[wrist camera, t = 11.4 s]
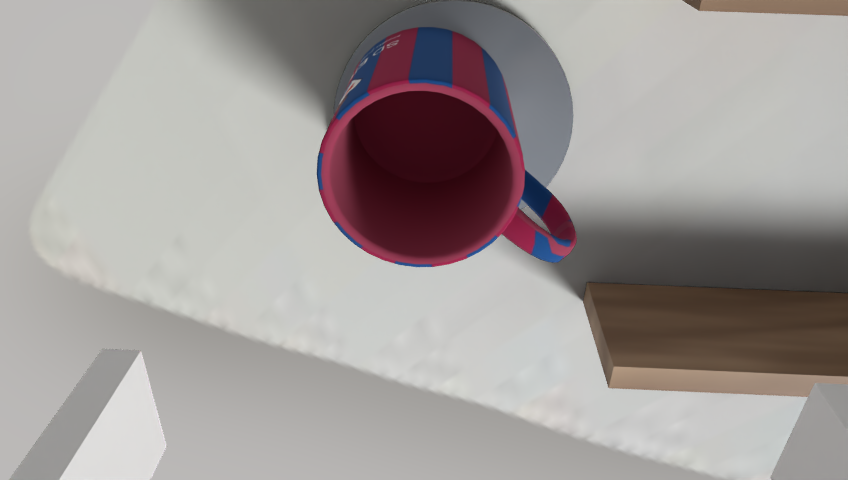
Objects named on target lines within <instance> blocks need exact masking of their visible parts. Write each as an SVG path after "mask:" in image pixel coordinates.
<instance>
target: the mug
mask: <svg viewBox="0 0 848 480" xmlns="http://www.w3.org/2000/svg"><path fill="white" fill-rule="evenodd" d="M317 179H318V186H319V192H320V195H321V198H322V201H323V204H324V206H325V208H326V210H327V212H328V214H329V216H330V217H331V219H332V221H333V222H334V223H335V225H336V226H337V227H338V228H339V230H340V231H341V232H342V233H343V234H344V235H345V236H346V237H347V238H348V239H349V240H350V241H352V242H353V243H354V244H355V245H357V246H358V247H360V248H361V249H363V250H364V251H366V252H367V253H369V254H371V255H373V256H375V257H378V258H380V259H382V260H385V261H388V262H392V263H395V264H399V265H405V266H412V267H435V266H441V265H447V264H451V263H454V262H458V261H461V260H464V259H466V258H468V257H470V256H472V255H474V254H476V253H478V252H480V251H481V250H483V249H484V248H486V247H487V246H488V245H490V244H491V243H493V242H494V241H495V240H496V239H497V238H498V237H499V236H500V235H501V234H503V235H504V236H505V237H506V238H507V239H509V240H510V241H511V242H513V243H514V244H515V245H517V246H518V247H520V248H521V249H523V250H524V251H526V252H527V253H529V254H531V255H533V256H534V257H536V258H538V259H541V260H544V261H548V262H552V263H553V262H559V261H560V260H562V259H563V258H564V257H565V256H567V255H568V254H569V253H570V252H571V251H572V249H573V248H574V246H575V244H576V241H577V237H576V232H575V229H574V226H573V223H572V221H571V219H570V217H569V215H568V213H567V211H566V210H565V208H564V207H563V205H562V204H561V203H560V202H559V201H558V200H557V198H556V197H555V196H554V195H553V194H552V193H551V192H550V191H549V190H548V189H547V188H546V187H544V186H543V185H542V184H541V183H540V182H539V181H538V180H537V179H536V178H534V177H533V176H532V175H531V174H530V173H528V172H527V171H526V170H525V167H524V160H523V153H522V149H521V145H520V141H519V137H518V132H517V128H516V124H515V120H514V116H513V112H512V107H511V103H510V99H509V95H508V91H507V87H506V84H505V81H504V78H503V75H502V73H501V72H500V70H499V68H498V66H497V64H496V63H495V61H494V60H493V59H492V58H491V57H490V55H489V54H488V53H487V52H486V51H485V50H484V49H483V48H482V47H480V46H479V45H478V44H477V43H476V42H474V41H473V40H471V39H469V38H467V37H466V36H464V35H462V34H460V33H457V32H454V31H451V30H448V29H443V28H436V27H416V28H411V29H406V30H402V31H399V32H397V33H395V34H392V35H390V36H388V37H386V38H384V39H383V40H381V41H380V42H378V43H377V44H375V45H374V46H373V47H372V48H371V49H370V50H369V51H368V52H367V53H366V54H365V55H364V56H363V58H362V59H361V61H360V62H359V63H358V65H357V66H356V68H355V70H354V73H353V75H352V77H351V79H350V81H349V83H348V85H347V88H346V90H345V92H344V94H343V96H342V98H341V101H340V103H339V105H338V107H337V109H336V112H335V114H334V116H333V118H332V120H331V123H330V125H329V127H328V129H327V131H326V133H325V136H324V138H323V140H322V143H321V147H320V151H319V155H318V162H317ZM521 199H522V200H523V201H524V202H525V203H526V204H527V205H528V206H529V207H530V208H531V209H532V210H533V211H534V212H535V213H536V214H537V215H538V216H539V217H540V218H541V220H542V221H543V222H544V223H545V224H546V226H547V228H548V229H549V231H550V232H551V234H550V233H548V232H547V231H545V230H544V229H543V228H541V227H540V226H538V225H537V224H536V223H535V222H533V221H532V220H531V219H530V218H529V217H528V216H527V215H526V214H525V213H524V212H522V211H521V210H520V209H519V208H518V207H519V205H520V202H521Z"/></svg>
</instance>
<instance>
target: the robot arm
mask: <svg viewBox="0 0 848 480" xmlns="http://www.w3.org/2000/svg"><path fill="white" fill-rule="evenodd" d="M166 447H167V445H166V442H165V438H164V434H163V431H162V427H161V423H160V419H159V416H158V412H157V408H156V405H155V401H154V397H153V393H152V390H151V386H150V383H149V379H148V375H147V371H146V368H145V364H144V360H143V357H142V353H141V351H139V350H118V349H102V350H101V352H100V353H99V354H98V356H97V357H96V359H95V360H94V362H93V363H92V364H91V366H90V367H89V368H88V370H87V371H86V373H85V374H84V376H83V377H82V378H81V380H80V381H79V383H78V384H77V385H76V387H75V388H74V389H73V391H72V392H71V394H70V395H69V397H68V398H67V399H66V401H65V402H64V403H63V405H62V406H61V408H60V409H59V410H58V412H57V413H56V415H55V416H54V418H53V419H52V420H51V422H50V423H49V424H48V426H47V427H46V429H45V430H44V431H43V433H42V434H41V436H40V437H39V438H38V440H37V441H36V443H35V444H34V446H33V447H32V448H31V450H30V451H29V453H28V454H27V455H26V457H25V458H24V460H23V461H22V462H21V464H20V465H19V467H18V468H17V469H16V471H15V472H14V474H13V475H12V476H11V478H10V479H9V480H151V478H152V475H153V474H154V472H155V469H156V467H157V465H158V463H159V461H160V459H161V457H162V455H163V453H164V451H165V449H166ZM771 479H772V480H848V385H847V384H826V383H815V384H814V386H813V388H812V390H811V392H810V394H809V396H808V399H807V401H806V403H805V405H804V407H803V409H802V411H801V413H800V416H799V418H798V420H797V422H796V424H795V426H794V428H793V430H792V433H791V435H790V437H789V439H788V441H787V443H786V445H785V447H784V450H783V452H782V454H781V456H780V458H779V460H778V462H777V464H776V467H775V469H774V471H773V473H772V475H771Z"/></svg>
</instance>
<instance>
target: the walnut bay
mask: <svg viewBox="0 0 848 480" xmlns="http://www.w3.org/2000/svg"><path fill="white" fill-rule="evenodd" d="M683 1H684V2H686V3H687V4H689V5H691V6H692V7H694V8H696V9H697V10H699V11H723V12H753V13H782V14H812V15H842V16H848V0H683ZM583 303H584V307H585V310H586V313H587V317H588V320H589V323H590V327H591V330H592V334H593V337H594V340H595V344H596V347H597V350H598V354H599V357H600V360H601V364H602V367H603V371H604V374H605V377H606V381H607V384H608V387H609V388H620V389H643V390H665V391H688V392H710V393H733V394H755V395H778V396H800V397H808V396H809V394H810V392H811V390H812V388H813V386H814V384H815V383H826V384H847V385H848V293H829V292H805V291H781V290H757V289H733V288H708V287H684V286H660V285H636V284H611V283H587V285H586V290H585V295H584V301H583Z"/></svg>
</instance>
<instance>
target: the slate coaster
mask: <svg viewBox="0 0 848 480" xmlns="http://www.w3.org/2000/svg"><path fill="white" fill-rule="evenodd" d="M416 27H436V28H443V29H448V30H451V31H454V32H457V33H460V34H462V35H464V36H466V37H467V38H469V39H471V40H473V41H474V42H476V43H477V44H478V45H479V46H480V47H482V48H483V49H484V50H485V51H486V52H487V53H488V54H489V55H490V57H491V58H492V59H493V60H494V61H495V63H496V64H497V66H498V68H499V70H500V72H501V73H502V75H503V78H504V81H505V84H506V87H507V91H508V95H509V99H510V103H511V107H512V112H513V116H514V120H515V124H516V128H517V132H518V137H519V141H520V145H521V149H522V153H523V160H524V167H525V170H526V171H527V172H528V173H530V174H531V175H532V176H533V177H534V178H536V179H537V180H538V181H539V182H540V183H541V184H542V185H543V186H544V187H547V186H548V185H549V183H550V182H551V180H552V179H553V178H554V176H555V175H556V173H557V171H558V170H559V168H560V166H561V164H562V162H563V160H564V157H565V155H566V152H567V149H568V147H569V142H570V138H571V134H572V124H573V105H572V98H571V93H570V88H569V84H568V81H567V79H566V76H565V73H564V71H563V69H562V67H561V65H560V63H559V61H558V59H557V57H556V55H555V54H554V52H553V51H552V49H551V48H550V47H549V45H548V44H547V42H546V41H545V40H544V39H543V38H542V37H541V36H540V35H539V34H538V33H537V32H536V31H535V30H534V29H533V28H532V27H530V26H529V25H528V24H527V23H525V22H524V21H523V20H521V19H520V18H518V17H516V16H515V15H513V14H511V13H509V12H508V11H505V10H503V9H500V8H498V7H495V6H493V5H489V4H485V3H481V2H477V1H470V0H439V1H433V2H427V3H423V4H420V5H417V6H414V7H411V8H408V9H406V10H404V11H402V12H400V13H397V14H395V15H394V16H392V17H390V18H389V19H387V20H386V21H384V22H383V23H381V24H380V25H379V26H378V27H377V28H375V29H374V30H373V31H372V32H371V33H370V34H369V35H368V36H367V37H366V38H365V39H364V40H363V42H362V43H361V44H360V45H359V46H358V47H357V49H356V51H355V52H354V54H353V55H352V57H351V58H350V60H349V62H348V64H347V66H346V68H345V70H344V72H343V75H342V77H341V79H340V82H339V86H338V89H337V92H336V98H335V104H334V114H335V112H336V109H337V107H338V105H339V103H340V101H341V98H342V96H343V94H344V92H345V90H346V88H347V85H348V83H349V81H350V79H351V77H352V75H353V73H354V70H355V68H356V66H357V65H358V63H359V62H360V61H361V59H362V58H363V56H364V55H365V54H366V53H367V52H368V51H369V50H370V49H371V48H372V47H373V46H374V45H375V44H377V43H378V42H380V41H381V40H383V39H384V38H386V37H388V36H390V35H392V34H395V33H397V32H399V31H402V30H406V29H411V28H416ZM526 206H527V204H526V203H525V202H524V201H523V200H522V199H521V202H520V205H519V207H518V208H519V209H520V210H521V209H523V208H524V207H526Z"/></svg>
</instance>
